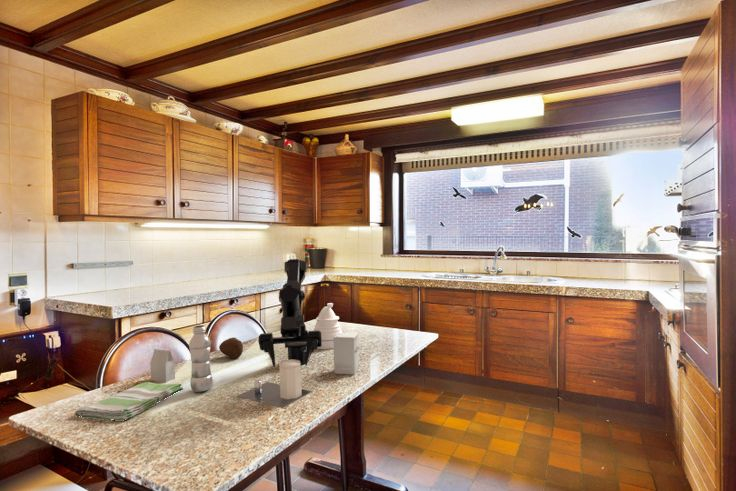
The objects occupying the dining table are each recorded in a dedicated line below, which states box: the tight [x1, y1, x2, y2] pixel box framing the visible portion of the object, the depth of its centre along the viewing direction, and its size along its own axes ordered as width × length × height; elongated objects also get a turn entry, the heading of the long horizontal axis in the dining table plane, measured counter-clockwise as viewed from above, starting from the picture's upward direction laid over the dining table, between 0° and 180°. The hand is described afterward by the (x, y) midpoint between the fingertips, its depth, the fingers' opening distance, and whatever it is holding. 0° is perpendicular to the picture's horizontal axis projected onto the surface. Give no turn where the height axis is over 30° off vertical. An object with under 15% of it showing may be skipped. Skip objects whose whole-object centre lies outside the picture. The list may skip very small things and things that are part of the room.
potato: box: [218, 337, 244, 359], centre depth 162 cm, size 7×10×8 cm
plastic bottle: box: [188, 324, 214, 393], centre depth 127 cm, size 6×7×20 cm
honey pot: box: [313, 302, 343, 350], centre depth 176 cm, size 13×13×18 cm
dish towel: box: [74, 381, 184, 422], centre depth 119 cm, size 17×23×4 cm
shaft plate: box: [235, 379, 313, 409], centre depth 121 cm, size 18×13×4 cm
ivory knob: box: [278, 359, 303, 399], centre depth 120 cm, size 6×6×10 cm
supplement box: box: [333, 332, 360, 375], centre depth 142 cm, size 7×7×13 cm
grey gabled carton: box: [149, 348, 176, 383], centre depth 138 cm, size 4×7×10 cm, turn 69°
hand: (290, 365), depth 120 cm, fingers open, 9 cm apart
